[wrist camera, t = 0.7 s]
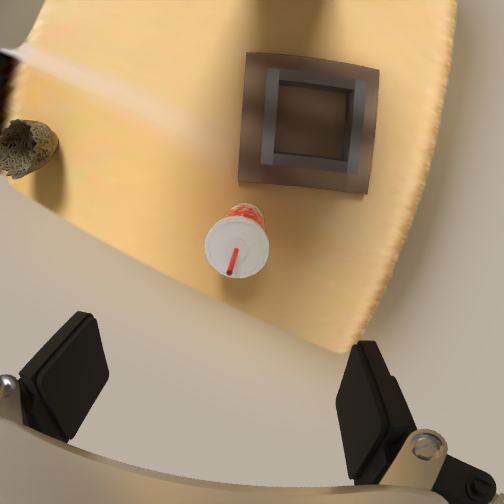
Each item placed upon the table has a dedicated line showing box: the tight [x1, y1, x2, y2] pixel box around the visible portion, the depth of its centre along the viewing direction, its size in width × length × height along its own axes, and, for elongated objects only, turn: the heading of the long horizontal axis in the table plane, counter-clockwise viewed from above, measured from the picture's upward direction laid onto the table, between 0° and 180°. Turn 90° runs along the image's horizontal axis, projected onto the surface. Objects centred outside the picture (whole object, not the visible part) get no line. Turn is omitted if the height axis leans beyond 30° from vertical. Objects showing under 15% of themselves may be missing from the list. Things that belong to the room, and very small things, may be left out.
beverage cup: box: [204, 203, 269, 278], centre depth 31 cm, size 6×6×14 cm
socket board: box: [238, 53, 379, 194], centre depth 30 cm, size 15×15×4 cm
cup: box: [0, 119, 58, 179], centre depth 31 cm, size 8×7×8 cm
